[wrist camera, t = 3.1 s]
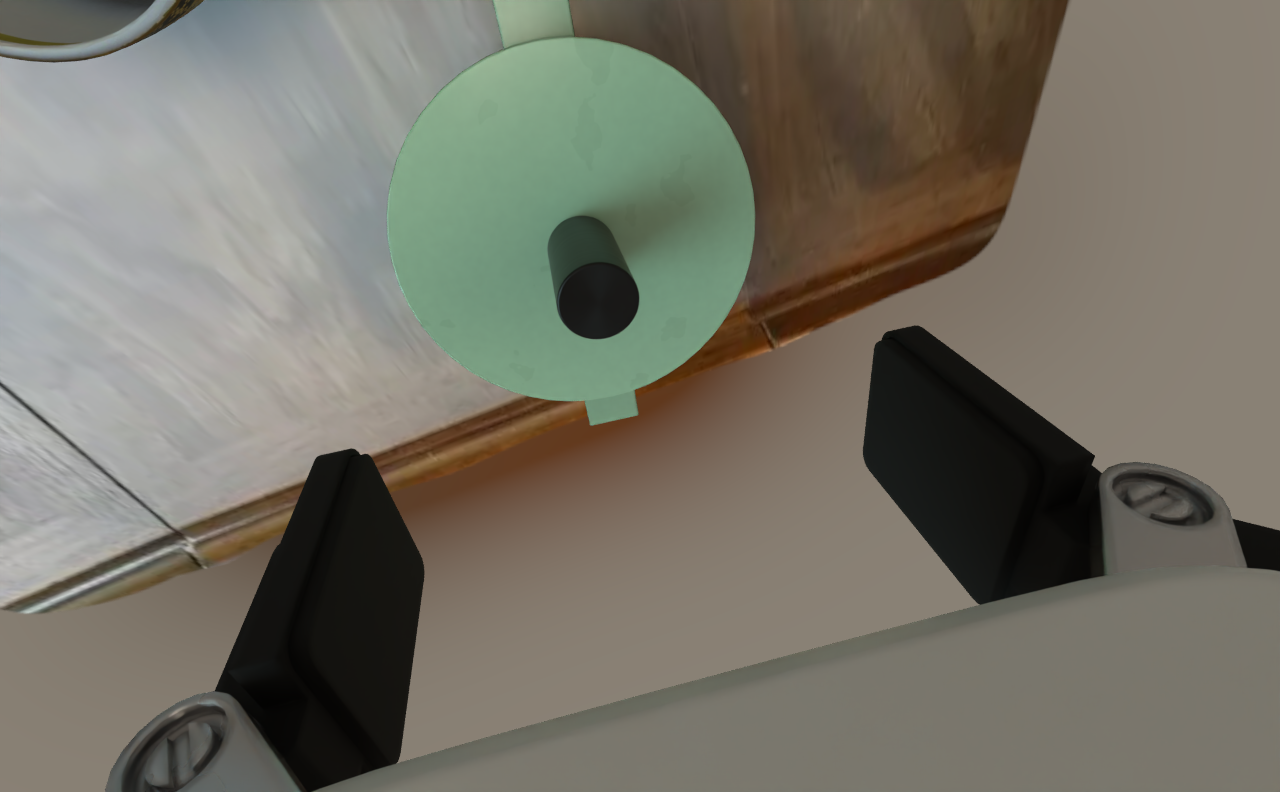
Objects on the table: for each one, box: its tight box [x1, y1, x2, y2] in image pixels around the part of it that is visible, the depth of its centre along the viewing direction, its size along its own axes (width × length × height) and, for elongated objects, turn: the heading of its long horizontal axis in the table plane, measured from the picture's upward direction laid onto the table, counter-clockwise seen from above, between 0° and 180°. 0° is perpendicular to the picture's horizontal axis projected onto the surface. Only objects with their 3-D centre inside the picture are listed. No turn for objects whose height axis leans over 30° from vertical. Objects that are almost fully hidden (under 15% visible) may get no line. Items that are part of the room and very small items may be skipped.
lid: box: [387, 36, 755, 401], centre depth 21 cm, size 14×14×6 cm
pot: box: [493, 0, 638, 425], centre depth 26 cm, size 13×18×8 cm
